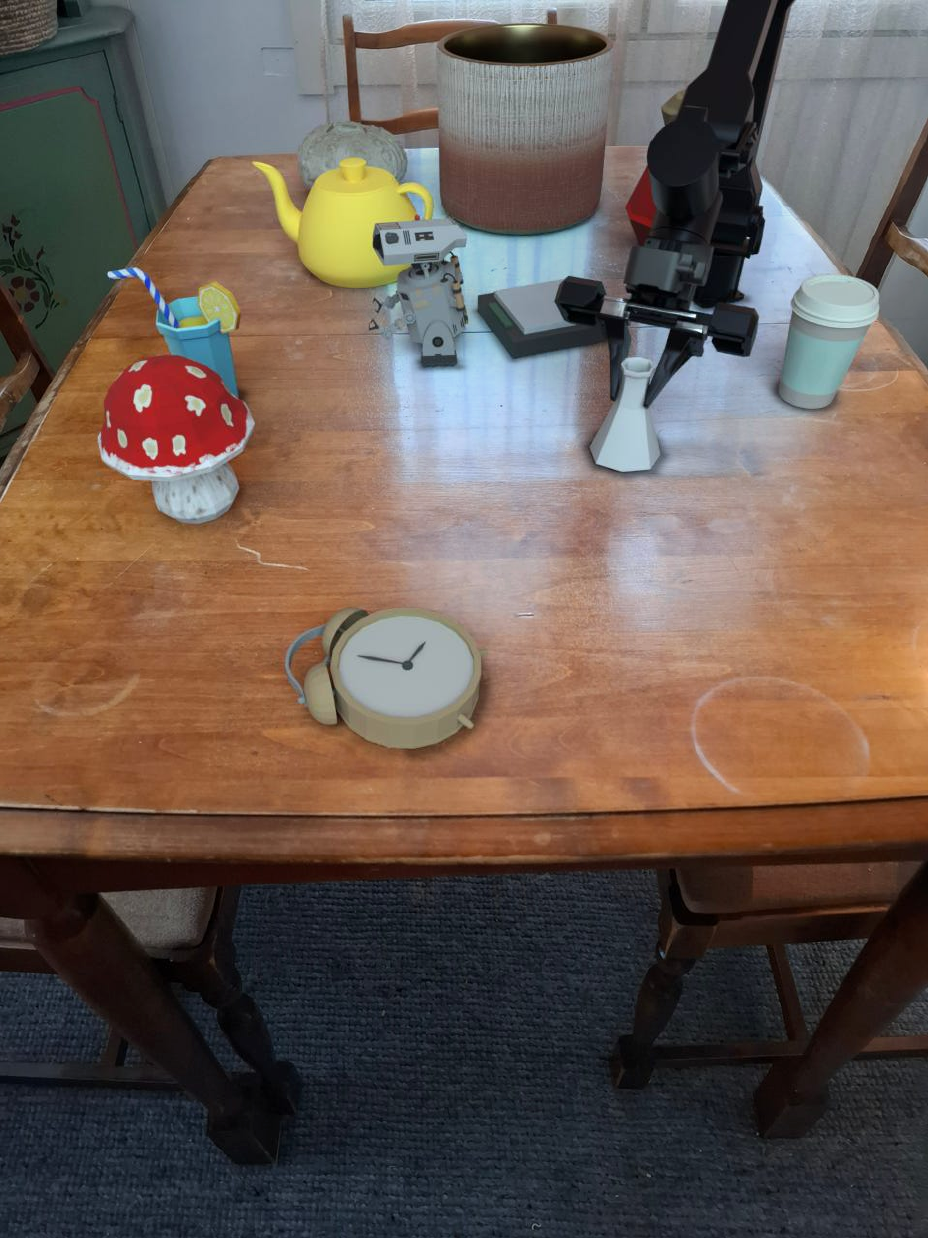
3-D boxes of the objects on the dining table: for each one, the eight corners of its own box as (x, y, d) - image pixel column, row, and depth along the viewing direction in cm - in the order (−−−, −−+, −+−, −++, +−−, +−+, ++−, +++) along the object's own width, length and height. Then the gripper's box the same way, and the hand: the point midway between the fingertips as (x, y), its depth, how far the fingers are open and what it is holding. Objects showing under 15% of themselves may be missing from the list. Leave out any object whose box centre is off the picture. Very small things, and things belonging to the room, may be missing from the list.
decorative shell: (387, 169, 142) (382, 103, 134) (425, 202, 130) (421, 133, 123) (290, 185, 137) (279, 118, 129) (320, 221, 126) (310, 151, 118)
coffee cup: (846, 381, 91) (884, 276, 82) (844, 421, 85) (885, 314, 77) (768, 370, 93) (798, 266, 84) (762, 408, 87) (793, 302, 79)
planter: (552, 254, 116) (564, 74, 100) (409, 220, 125) (398, 51, 109) (625, 197, 130) (645, 32, 114) (491, 171, 140) (493, 15, 124)
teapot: (253, 289, 110) (230, 181, 100) (289, 237, 122) (271, 136, 112) (432, 296, 107) (427, 187, 97) (450, 242, 119) (448, 140, 109)
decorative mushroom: (232, 445, 85) (194, 308, 74) (299, 509, 77) (268, 368, 66) (105, 498, 79) (43, 358, 68) (164, 573, 71) (105, 429, 60)
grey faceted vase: (658, 478, 79) (676, 388, 72) (585, 470, 80) (596, 380, 73) (661, 436, 84) (678, 348, 77) (592, 429, 85) (602, 342, 78)
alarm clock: (473, 738, 55) (261, 689, 55) (461, 774, 59) (263, 728, 59) (495, 620, 63) (309, 577, 62) (484, 659, 66) (308, 618, 66)
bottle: (698, 228, 121) (727, 72, 107) (746, 263, 112) (785, 99, 98) (603, 243, 118) (620, 85, 103) (645, 281, 109) (671, 114, 95)
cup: (136, 416, 89) (87, 282, 78) (165, 379, 94) (123, 249, 83) (256, 425, 87) (223, 290, 76) (279, 388, 92) (251, 256, 81)
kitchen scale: (569, 295, 107) (571, 273, 105) (611, 340, 98) (614, 316, 96) (477, 311, 104) (477, 288, 102) (513, 358, 96) (513, 335, 94)
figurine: (376, 333, 101) (363, 207, 90) (467, 330, 101) (465, 204, 90) (373, 370, 95) (358, 240, 84) (470, 367, 95) (468, 236, 84)
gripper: (568, 184, 70) (518, 358, 72) (785, 215, 65) (726, 402, 66) (588, 242, 81) (544, 392, 82) (776, 272, 76) (725, 433, 77)
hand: (628, 403), depth 77 cm, fingers closed on grey faceted vase, 3 cm apart
